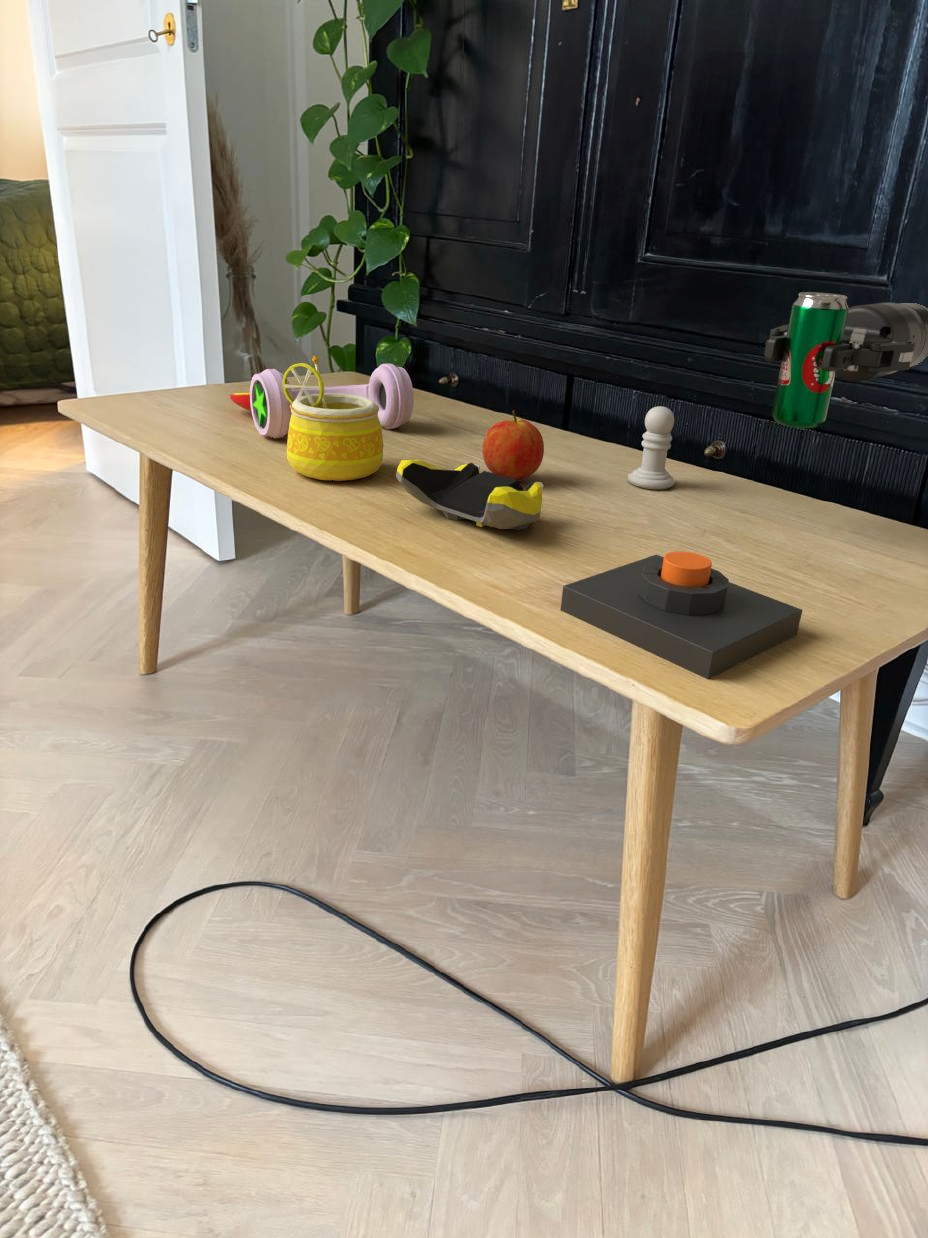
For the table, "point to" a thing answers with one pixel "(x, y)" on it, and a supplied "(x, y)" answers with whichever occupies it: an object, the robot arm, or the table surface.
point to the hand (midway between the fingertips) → (798, 354)
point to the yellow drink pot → (332, 432)
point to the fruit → (513, 448)
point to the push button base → (682, 616)
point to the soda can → (808, 359)
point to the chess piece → (655, 451)
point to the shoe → (473, 494)
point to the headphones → (273, 407)
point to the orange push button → (686, 569)
